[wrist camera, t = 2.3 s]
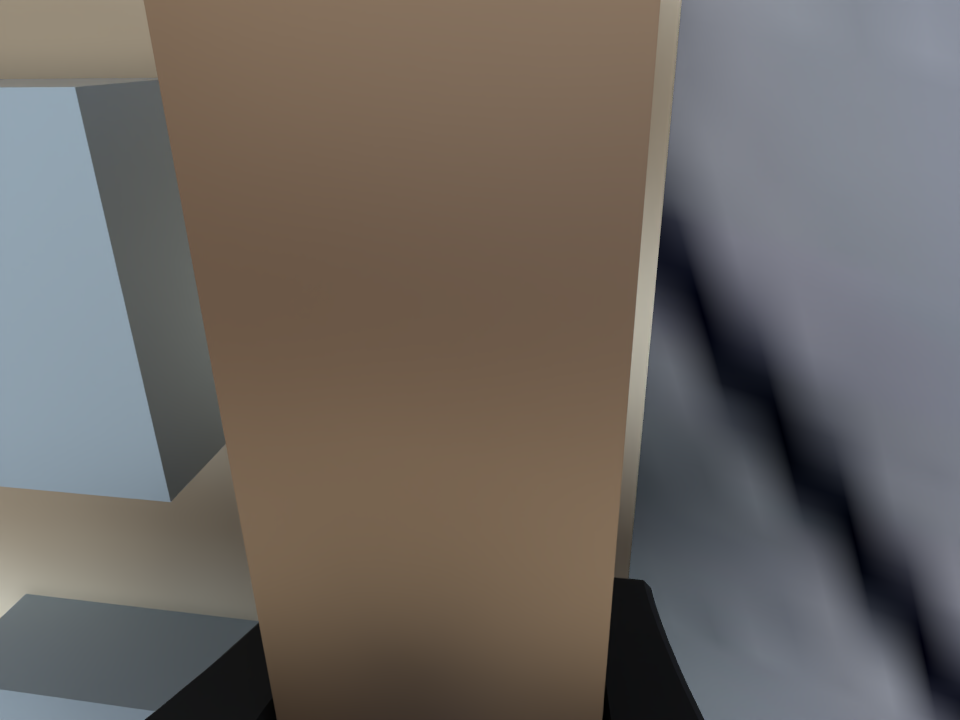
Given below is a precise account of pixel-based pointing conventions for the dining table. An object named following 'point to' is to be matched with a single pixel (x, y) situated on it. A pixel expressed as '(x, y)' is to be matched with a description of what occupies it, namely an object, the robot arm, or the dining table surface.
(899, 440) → the dining table surface
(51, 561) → the birch plate
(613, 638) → the robot arm
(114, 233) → the near tile
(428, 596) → the scraper bar
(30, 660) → the far tile
